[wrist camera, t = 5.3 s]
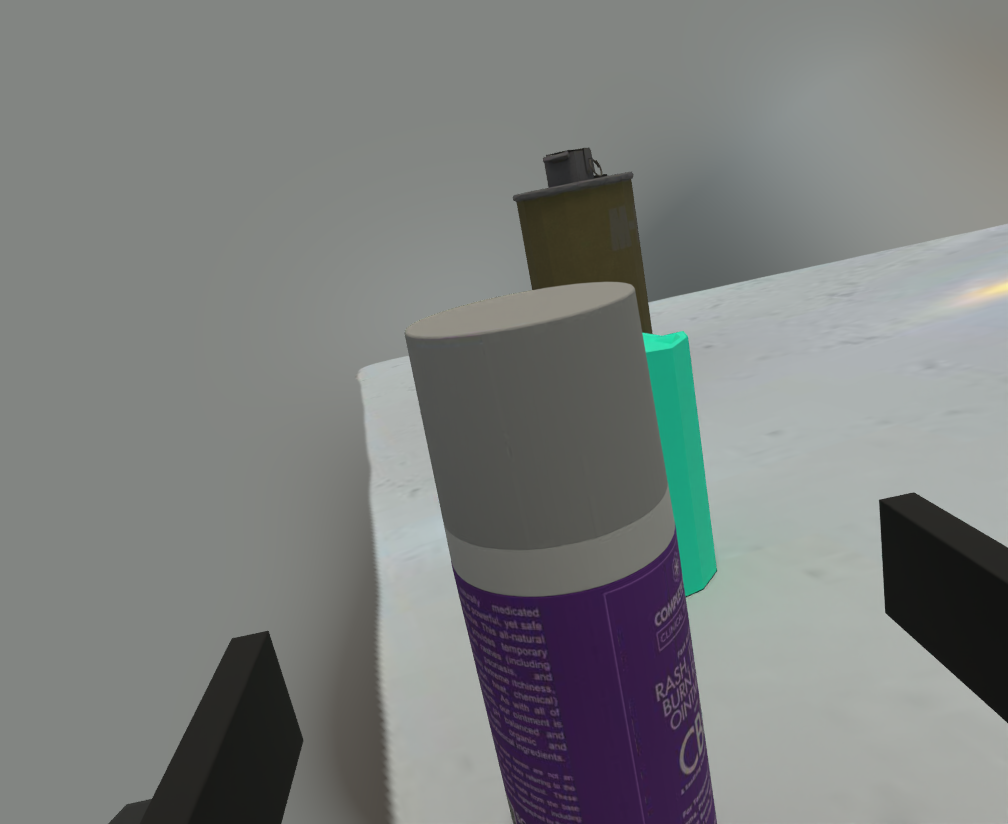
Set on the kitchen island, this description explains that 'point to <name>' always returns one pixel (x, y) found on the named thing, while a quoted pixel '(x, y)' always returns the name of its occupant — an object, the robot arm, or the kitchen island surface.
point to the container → (566, 553)
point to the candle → (682, 454)
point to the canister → (583, 228)
